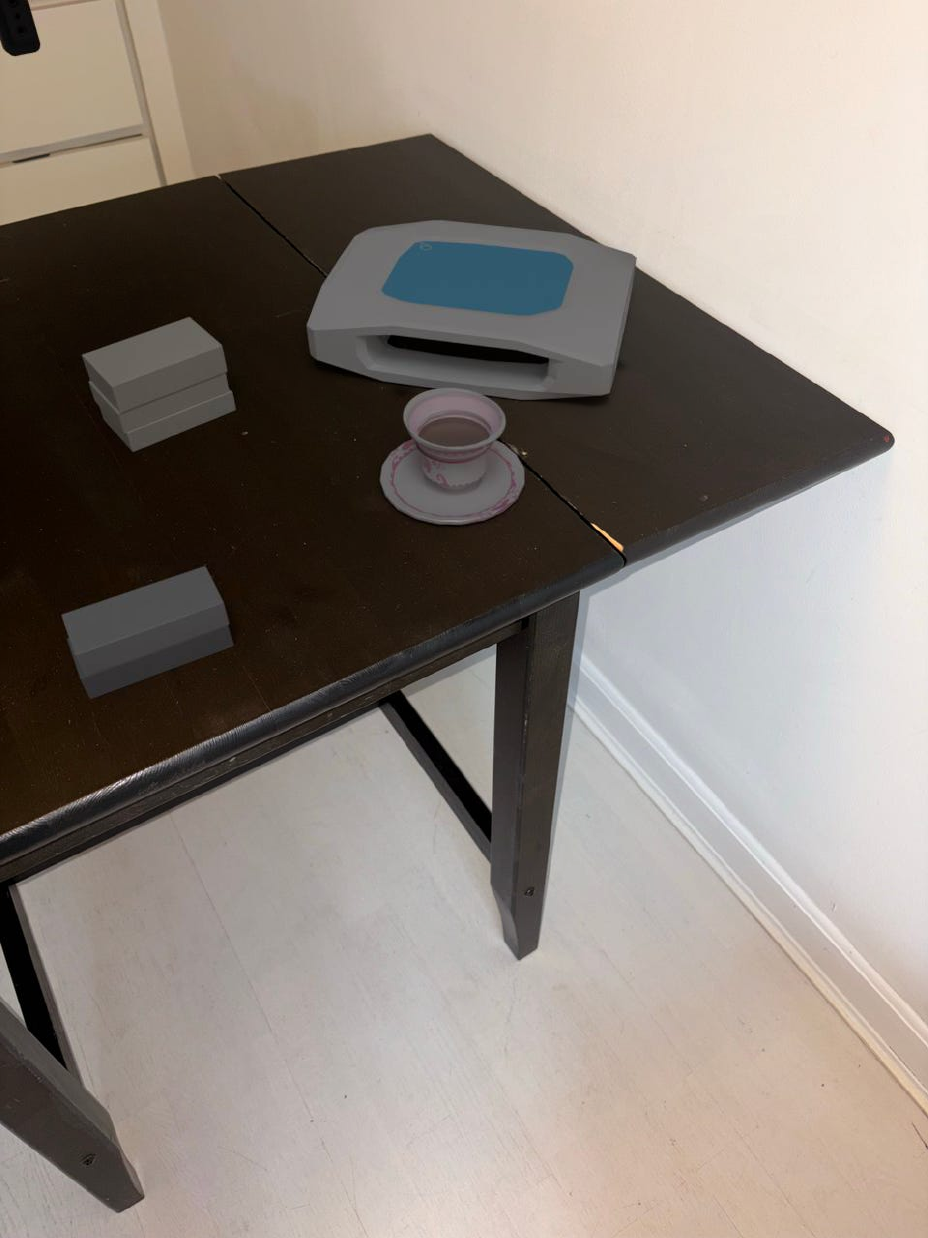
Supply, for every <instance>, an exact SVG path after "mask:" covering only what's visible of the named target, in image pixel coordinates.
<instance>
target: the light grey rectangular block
mask: <svg viewBox="0 0 928 1238" xmlns="http://www.w3.org/2000/svg"><path fill="white" fill-rule="evenodd" d="M81 357H82V361H83V363H84V366H85V369H86V371H87V375H88V378H89V381H91V382H92V383H93V384H94V385H95V387H96V388H97V389H98V390H99V391H100V392H101V393H102V394H103V395H104V396H105V397H106V398H107V399H108V401H109V402H110V403H111V404H112V405H113V406H114V407H115V408H116V409H117V410H118V411H119V412H120V413H122V412H125V411H128V410H130V409H133V408H135V407H138V406H140V405H143V404H146V403H148V402H151V401H153V400H156V399H159V398H161V397H164V396H166V395H169V394H171V393H174V392H177V391H179V390H182V389H184V388H187V387H190V386H192V385H195V384H197V383H200V382H202V381H205V380H208V379H210V378H213V377H215V376H218V375H220V374H223V373H226V374H227V373H228V371H229V370H228V366H227V361H226V357H225V351H224V348H223V344H221V343H220V342H219V341H218V340H217V339H215V338H214V337H213V336H212V335H211V334H210V333H208V331H206V329H204V328H203V327H202V326H201V325H200V324H198V323H197V322H196V321H195V320H193V318H192V317H190V316H188V317H185V318H183V319H180V320H176V321H174V322H171V323H169V324H165V325H162V326H159V327H157V328H153V329H151V330H149V331H146V332H145V331H144V332H143V333H140V334H137V335H134V336H131V337H128V338H126V339H123V340H120V341H116V342H114V343H112V344H109V345H106V346H103V347H101V348H97V349H95V350H92V351H89V352H86V353H83V354H81Z"/></svg>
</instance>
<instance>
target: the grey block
mask: <svg viewBox="0 0 928 1238" xmlns="http://www.w3.org/2000/svg"><path fill="white" fill-rule="evenodd" d="M88 386H89V388H90V391H91V394H92V397H93V400H94V403H96V404H97V405H98V407H99V409H100V412H101V416H102V419H103V421H104V422H105V423H106V424H107V425H108V426H109V428H111V429H112V431H113V432H114V433H115V434H116V435H117V437H119V439H120V440H121V441H122V442H123V443H124V444H125V445H126V447H128V449H130V451H131V452H132V453H134V452H137V451H139V450H142V449H145V448H147V447H149V446H151V445H154V444H157V443H159V442H161V441H164V440H166V439H169V438H171V437H174V436H176V435H179V434H181V433H184V432H186V431H188V430H191V429H193V428H196V427H198V426H200V425H203V424H205V423H206V424H207V423H208V422H210V421H213V420H216V419H218V418H220V417H223V416H225V415H227V414H230V413H232V412H235V411H237V409H236V403H235V397H234V394H233V391H232V390H231V389H230V387H229V382H228V378H227V372H226V373H223V374H220V375H218V376H215V377H213V378H210V379H208V380H205V381H202V382H200V383H197V384H195V385H192V386H190V387H187V388H184V389H182V390H179V391H177V392H174V393H171V394H169V395H166V396H164V397H161V398H159V399H156V400H153V401H151V402H148V403H146V404H143V405H140V406H138V407H135V408H133V409H130V410H128V411H125V412H122V413H120V412H119V411H118V410H117V409H116V408H115V407H114V406H113V405H112V404H111V403H110V402H109V401H108V399H107V398H106V397H105V396H104V395H103V394H102V393H101V392H100V391H99V390H98V389H97V388H96V387H95V385H94V384H93V383H92V382H91V381H90V380H89V381H88Z"/></svg>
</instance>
